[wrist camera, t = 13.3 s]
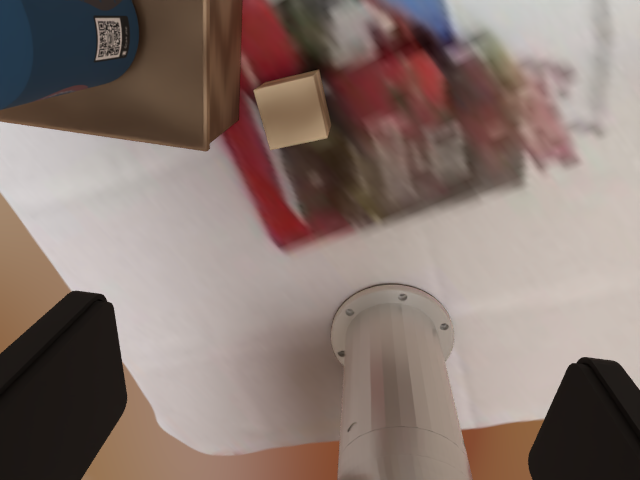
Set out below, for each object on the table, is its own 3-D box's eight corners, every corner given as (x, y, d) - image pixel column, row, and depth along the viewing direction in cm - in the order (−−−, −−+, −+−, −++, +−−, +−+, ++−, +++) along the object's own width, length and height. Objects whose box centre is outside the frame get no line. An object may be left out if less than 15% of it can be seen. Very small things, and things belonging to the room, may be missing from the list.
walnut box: (240, 122, 37) (206, 151, 29) (76, 99, 37) (-2, 121, 29) (247, -85, 30) (206, -122, 22) (47, -111, 30) (-65, -157, 22)
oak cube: (331, 124, 36) (327, 138, 32) (280, 135, 37) (270, 150, 33) (319, 69, 34) (313, 75, 30) (265, 82, 35) (253, 90, 31)
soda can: (38, 65, 27) (-171, 95, 17) (30, -64, 24) (-234, -130, 13) (145, 95, 27) (8, 143, 17) (152, -29, 24) (-12, -66, 14)
